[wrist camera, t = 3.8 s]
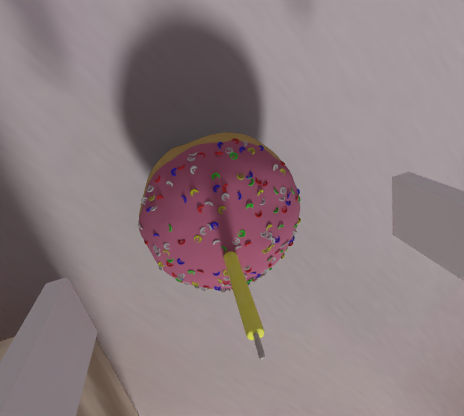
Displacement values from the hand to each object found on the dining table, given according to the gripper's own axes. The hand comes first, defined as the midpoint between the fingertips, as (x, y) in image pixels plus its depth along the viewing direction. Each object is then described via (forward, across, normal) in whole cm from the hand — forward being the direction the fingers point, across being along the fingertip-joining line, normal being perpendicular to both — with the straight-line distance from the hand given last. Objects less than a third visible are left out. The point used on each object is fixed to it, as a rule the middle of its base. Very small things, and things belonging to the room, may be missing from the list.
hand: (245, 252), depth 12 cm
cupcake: (+9, 0, 0) cm, 9 cm away
